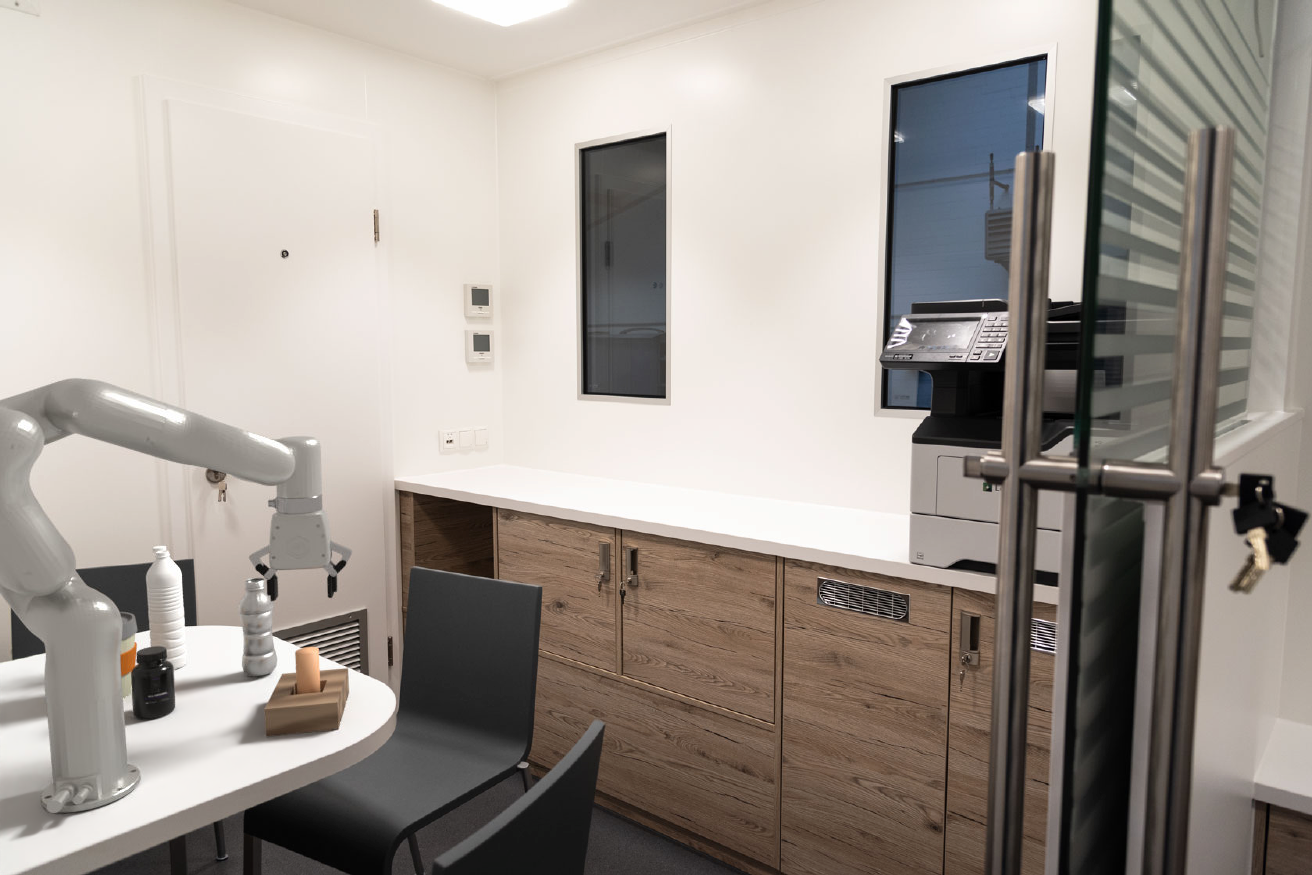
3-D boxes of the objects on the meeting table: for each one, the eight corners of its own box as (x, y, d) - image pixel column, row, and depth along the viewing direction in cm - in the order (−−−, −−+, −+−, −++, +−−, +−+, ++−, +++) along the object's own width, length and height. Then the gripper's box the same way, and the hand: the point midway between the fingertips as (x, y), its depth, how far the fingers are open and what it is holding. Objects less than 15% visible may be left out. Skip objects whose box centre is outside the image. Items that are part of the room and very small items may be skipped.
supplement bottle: (156, 722, 151) (152, 658, 149) (124, 718, 152) (119, 655, 151) (184, 706, 157) (180, 645, 156) (153, 702, 159) (149, 642, 157)
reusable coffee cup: (56, 697, 161) (50, 622, 160) (130, 678, 170) (125, 607, 169) (73, 717, 153) (67, 638, 151) (150, 695, 162) (145, 621, 160)
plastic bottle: (284, 671, 174) (279, 578, 172) (254, 682, 168) (248, 586, 166) (266, 665, 177) (261, 573, 175) (235, 675, 172) (230, 581, 169)
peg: (319, 716, 153) (316, 653, 152) (296, 718, 152) (293, 655, 151) (322, 707, 157) (320, 646, 156) (299, 709, 156) (297, 647, 155)
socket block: (338, 729, 148) (337, 702, 148) (265, 736, 146) (264, 709, 145) (349, 692, 164) (348, 668, 163) (283, 698, 161) (282, 673, 160)
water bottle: (189, 666, 176) (182, 551, 173) (154, 674, 172) (146, 556, 169) (182, 654, 183) (175, 543, 180) (148, 661, 179) (140, 548, 176)
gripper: (242, 510, 144) (246, 606, 146) (348, 507, 149) (350, 600, 150) (252, 502, 152) (256, 594, 153) (353, 500, 156) (355, 589, 158)
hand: (302, 597), depth 152 cm, fingers open, 9 cm apart
